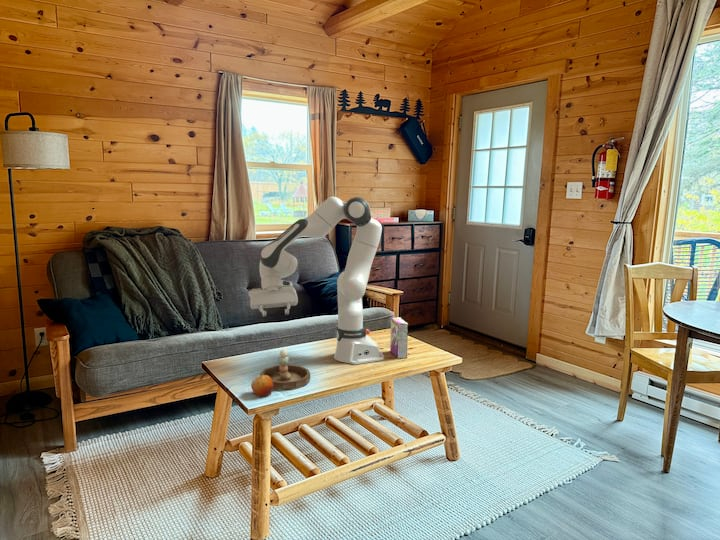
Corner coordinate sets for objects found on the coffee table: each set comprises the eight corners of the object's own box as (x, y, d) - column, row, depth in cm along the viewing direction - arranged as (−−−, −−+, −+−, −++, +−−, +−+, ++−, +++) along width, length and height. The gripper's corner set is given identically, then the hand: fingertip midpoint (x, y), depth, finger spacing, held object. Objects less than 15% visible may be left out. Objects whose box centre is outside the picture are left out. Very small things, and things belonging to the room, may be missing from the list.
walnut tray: (304, 370, 208) (304, 363, 207) (313, 387, 190) (314, 379, 189) (258, 374, 202) (258, 367, 202) (263, 392, 184) (263, 384, 184)
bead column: (287, 372, 203) (287, 347, 202) (289, 375, 200) (289, 350, 198) (278, 373, 202) (277, 348, 201) (279, 376, 198) (279, 351, 197)
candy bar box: (389, 351, 235) (390, 317, 232) (399, 350, 236) (400, 317, 233) (396, 359, 224) (398, 323, 221) (407, 358, 225) (408, 323, 222)
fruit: (280, 393, 180) (268, 376, 178) (261, 405, 179) (249, 388, 177) (277, 384, 188) (266, 368, 186) (259, 396, 187) (247, 380, 184)
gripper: (247, 285, 212) (251, 312, 204) (295, 281, 217) (300, 308, 210) (247, 293, 217) (250, 320, 209) (294, 289, 222) (299, 316, 215)
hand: (276, 314), depth 209 cm, fingers open, 8 cm apart
